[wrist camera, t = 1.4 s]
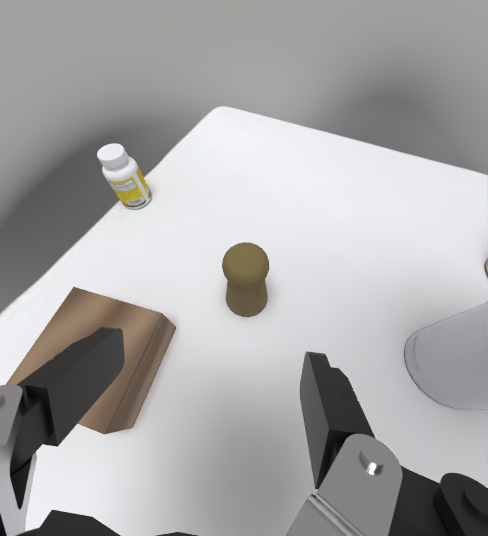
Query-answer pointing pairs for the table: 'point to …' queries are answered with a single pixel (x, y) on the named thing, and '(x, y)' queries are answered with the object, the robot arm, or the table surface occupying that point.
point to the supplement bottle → (124, 176)
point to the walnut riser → (135, 349)
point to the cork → (246, 279)
